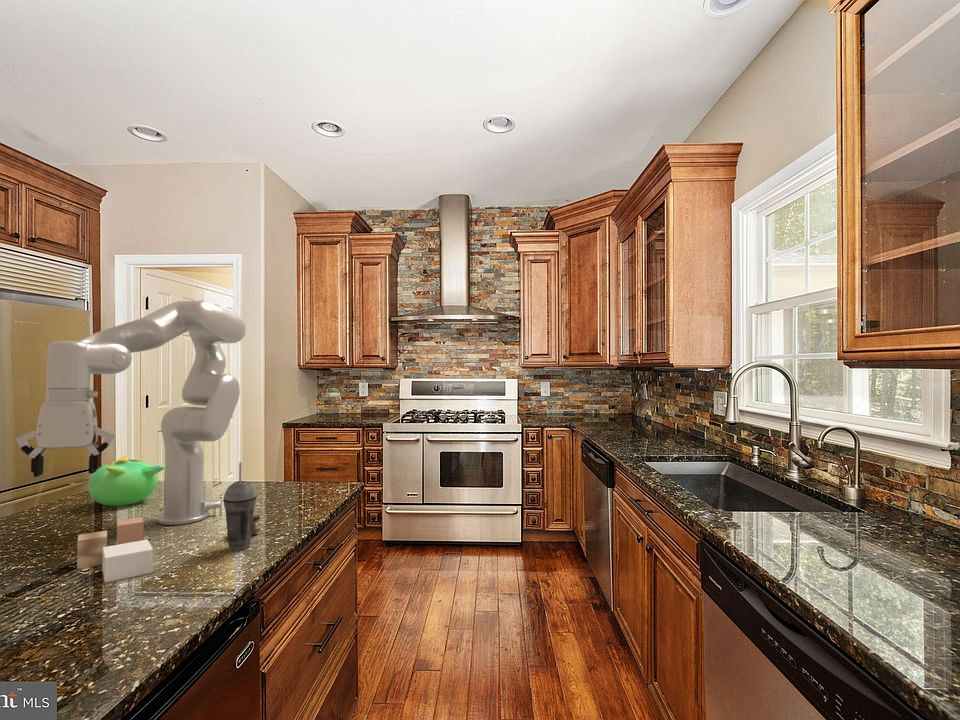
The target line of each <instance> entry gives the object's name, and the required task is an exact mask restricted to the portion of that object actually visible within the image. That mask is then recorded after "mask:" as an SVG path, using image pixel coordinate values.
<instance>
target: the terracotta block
mask: <svg viewBox="0 0 960 720" xmlns="http://www.w3.org/2000/svg"><path fill="white" fill-rule="evenodd" d="M143 518H144V517H143V516H140V517H134V518H133V517H132V518H127V519H119V520H117V522H116V523H117V524H116V526H117V528H116V529H117V530H116V545H119V544H125V543H130V542H136V541H142V540H144V524H145V523H144V519H143Z"/></svg>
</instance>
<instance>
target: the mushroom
mask: <svg viewBox="0 0 960 720" xmlns="http://www.w3.org/2000/svg"><path fill="white" fill-rule="evenodd" d="M260 518H261V515H260V514H259V513H257V512H254V513H253V522H252V532H251V536H252V535H255V534H257V533H259V532H260V531H261V528H259V527H257V526H256V523H257V522H258V521H259V520H260Z"/></svg>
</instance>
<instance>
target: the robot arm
mask: <svg viewBox="0 0 960 720" xmlns="http://www.w3.org/2000/svg"><path fill="white" fill-rule="evenodd" d="M246 330H247V329H246V324H245V322H244V320H243V319H242V318H241V317H240V316H238V315H237V314H236V313H233V312H230V311H229V310H227V309H225V308H224V307H221V306H219V305H217V304H214V303H212V302H210V301H205V300H179V301H173V302H172V303H171V302H170V303H169V304H167V305H165V306H163V307H160V308H159V309H156V310H154V311H152V312H150V313H149V314H147V315H144V316H142V317H140V318H138V319H135V320H131V321H128V322H124V323H121V324H120V325H115V326H112V327H108V328H106V329H102V330H101V331H98V332H94V333H92V334H91V335H88V336H86V337H83V338H82V339H79V340H78V341H77V340H55V341H52V342H50V343H49V344H48V346H47V347H48V348H47V360H46V361H47V362H46V363H47V364H46V365H47V369H46V390H45V391H46V392H45V398H46V399H45V402H43V403H42V404H41V406H40V410H39V415H38V417H37V418H38V419H37V424H36V429H35V430H32V431H29V432H28V433H25V434H22V435H20V436H18V437H16V439H15V441H16V443H17V445H18V446H19V447H20V449H21V451H22V452H23V453H25V454H26V455H27V456H28V458H29V459H30V460H31V463H30V472H31V473H32V474H33V478H37V477H40V476H41V475H43V474H44V458H45V457H44V456H43V453H44V452H45V451H46V450H51V449H52V450H53V449H78V448H80V449H81V448H85V449H87V451H88V452H90V455H89V456H88V474H91V475H93V473H94V472H96V470H98V469H99V468H100V462H101V461H100V457H101V455H100V454H101V453H102V452H104V451H105V450H106V449H107V448H108V447H110V445H111V443H112V441H113V440H114V439H115V437H116V435H115V434H114V433H113V432H110V431H107V430H106V429H105V430H104V429H102V428H100V427H98V418H97V409H96V405H95V401H91V399H93V398H98V394H99V393H98V390H96V391H95V390H92V388H91V375H94V374H95V375H114V374H120V373H122V372H124V371H126V370H128V368H129V367H130V365H131V364H132V360H133V356H132V354H133V353H139V352H145V351H146V352H147V351H151V350H154V349H158V348H160V347H162V346H164V345H166V344H167V343H169V342H170V341H172V340H174V339H176V338H177V337H179V336H181V335H183V334H185V333H188V335H189V338H190V339H191V342H192V344H193V347H194V350H195V358H194V361H193V364H192V366H191V368H190V371H189V373H188V375H187V377H186V379H185V381H184V384H183V386H182V390H181V397H182V399H183V401H184V402H185V403H186V404H189V405H192V406H179V407H178V406H177V407H174V408H171V409H169V410H168V411H166V413H165V414H164V415H163V416H162V419H161V423H160V428H161V429H160V430H161V434H162V435H161V436H162V439H163V446H164V466H165V468H164V484H163V485H164V487H163V489H164V492H163V513H162V514H160V515H159V516H158V517H157V518H156V522H157V523H158V524H159V525H164V526H165V525H167V526H174V525H175V526H176V525H186V524H190V523H191V524H192V523H196V522H200V521H203V520H205V519H206V518H208V517H209V514H210V512H209V510H212V509H213V510H215V509H221V508H222V501H214V500H212V501H211V500H210V501H205V499H204V459H205V458H204V457H205V456H204V451H203V448H202V445H201V444H200V442H203V443H205V442H209V443H211V442H212V443H213V442H215V441H219V440H221V439H222V437H223V436H224V435H225V433H226V432H227V430H228V427H229V425H230V422H231V419H232V417H233V415H234V412H235V409H236V407H237V404H238V402H239V399H240V393H241V390H240V389H241V388H240V383H239V381H238V379H237V378H236V377H235V376H233V375H232V374H229V373H224V372H225V369H226V367H227V359H226V355H225V353H224V351H223V349H222V348H221V345H220V344H235V343H238V342H240V341H241V340H243V339H244V337H245V336H246V332H247V331H246ZM201 406H202V407H201ZM204 406H205V407H204ZM98 436H100V437H102V438H104V440H103V442H101V444H100V445H97V444H96V443H97V442H98V438H99V437H98ZM33 438H35V445H36V446H35V448H34V447H33V446H32V445H31V444H29V442H28V441H29V440H30V439H33Z"/></svg>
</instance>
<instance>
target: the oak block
mask: <svg viewBox="0 0 960 720" xmlns="http://www.w3.org/2000/svg"><path fill="white" fill-rule="evenodd" d="M77 537H78V538H77V546H76V547H77V550H76V551H77V555H76V557H77V558H76V559H77V560H76V569H77V570H82V569H87V568H92V567H97V566H102V559H103V547H107V545H108V530H101V531H95V532H89V533H88V532H87V533H81V534H78V536H77Z"/></svg>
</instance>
